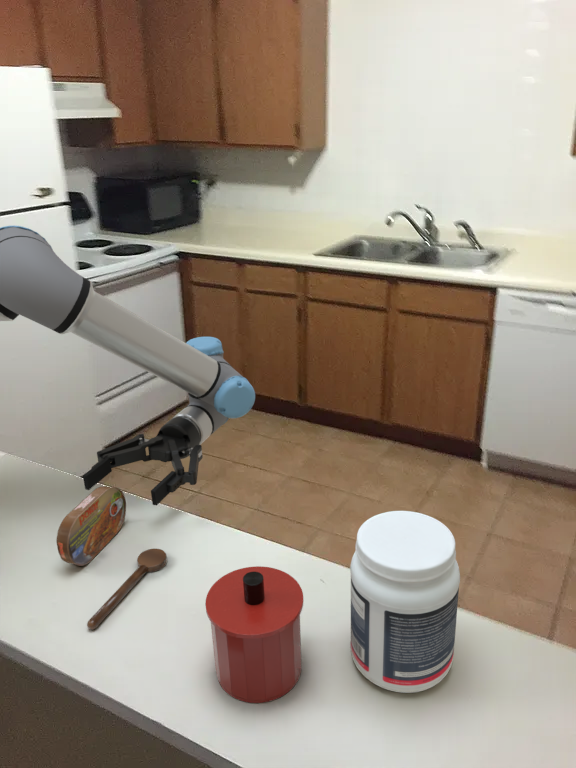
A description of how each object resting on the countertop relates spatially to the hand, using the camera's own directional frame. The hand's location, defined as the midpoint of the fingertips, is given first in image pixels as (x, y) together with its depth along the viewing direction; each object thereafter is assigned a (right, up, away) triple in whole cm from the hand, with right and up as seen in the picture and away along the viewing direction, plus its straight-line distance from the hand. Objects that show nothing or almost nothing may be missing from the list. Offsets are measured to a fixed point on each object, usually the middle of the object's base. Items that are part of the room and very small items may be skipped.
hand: (118, 490), depth 111 cm
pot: (+25, -18, -27) cm, 41 cm away
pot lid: (+24, -8, -32) cm, 41 cm away
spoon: (+5, -12, -13) cm, 18 cm away
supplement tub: (+42, -17, -27) cm, 53 cm away
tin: (-3, -8, -4) cm, 10 cm away
